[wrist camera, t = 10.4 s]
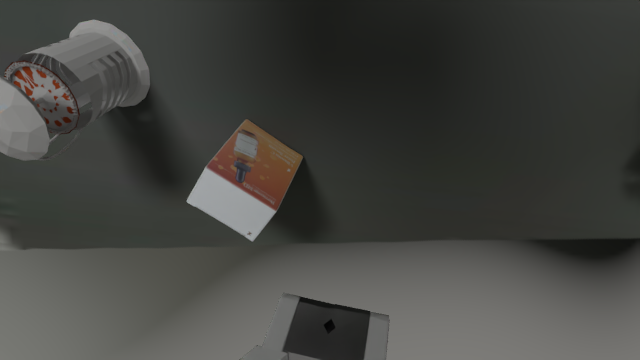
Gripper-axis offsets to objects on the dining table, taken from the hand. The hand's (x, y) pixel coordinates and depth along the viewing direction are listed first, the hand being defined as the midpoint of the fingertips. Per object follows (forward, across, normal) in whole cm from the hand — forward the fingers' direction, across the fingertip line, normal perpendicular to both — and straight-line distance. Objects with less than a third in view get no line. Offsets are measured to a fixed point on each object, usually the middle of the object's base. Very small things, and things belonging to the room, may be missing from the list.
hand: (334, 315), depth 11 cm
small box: (+30, +13, +15) cm, 36 cm away
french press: (+29, +32, +8) cm, 44 cm away
